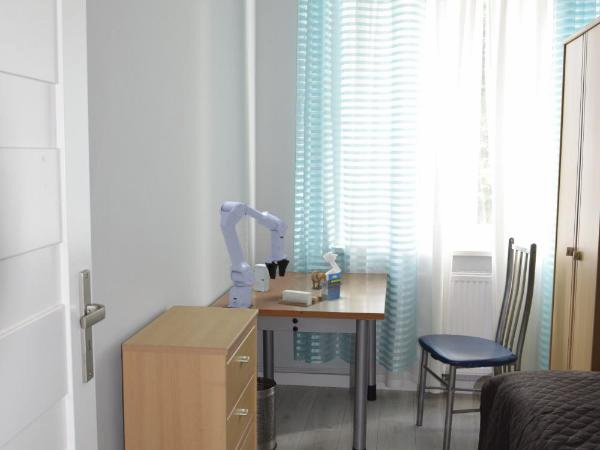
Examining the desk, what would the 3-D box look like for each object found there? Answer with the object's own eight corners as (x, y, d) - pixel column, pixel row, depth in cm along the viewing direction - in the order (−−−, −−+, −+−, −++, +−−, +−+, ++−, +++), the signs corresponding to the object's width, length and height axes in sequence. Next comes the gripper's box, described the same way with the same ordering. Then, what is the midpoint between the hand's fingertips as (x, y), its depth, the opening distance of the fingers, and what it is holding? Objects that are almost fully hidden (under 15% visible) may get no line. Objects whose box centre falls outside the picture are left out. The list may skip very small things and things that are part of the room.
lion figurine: (319, 290, 338) (320, 271, 337) (309, 289, 340) (309, 270, 339) (329, 285, 352) (329, 267, 351) (318, 284, 354) (318, 266, 353)
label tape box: (333, 298, 319) (333, 271, 317) (340, 299, 316) (340, 272, 315) (320, 301, 312) (321, 273, 311) (328, 302, 309) (328, 274, 308)
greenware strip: (307, 305, 297) (307, 293, 297) (282, 302, 303) (282, 291, 303) (311, 304, 300) (311, 292, 300) (286, 301, 306) (286, 289, 306)
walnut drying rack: (305, 309, 294) (306, 303, 294) (276, 306, 301) (276, 299, 301) (324, 302, 309) (325, 296, 309) (296, 299, 316) (296, 293, 316)
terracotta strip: (315, 302, 304) (315, 297, 304) (292, 299, 310) (292, 295, 309) (318, 301, 307) (318, 296, 307) (295, 298, 312) (295, 294, 312)
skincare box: (253, 290, 336) (253, 264, 334) (259, 289, 339) (259, 263, 338) (263, 292, 332) (264, 265, 331) (269, 290, 336) (269, 264, 335)
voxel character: (351, 274, 353) (333, 249, 352) (331, 288, 354) (313, 263, 353) (351, 272, 360) (333, 248, 359) (331, 285, 361) (314, 261, 360)
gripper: (276, 249, 303) (276, 281, 304) (293, 245, 315) (293, 276, 317) (262, 247, 306) (262, 279, 307) (280, 244, 319) (279, 274, 320)
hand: (277, 277), depth 312 cm, fingers open, 7 cm apart
